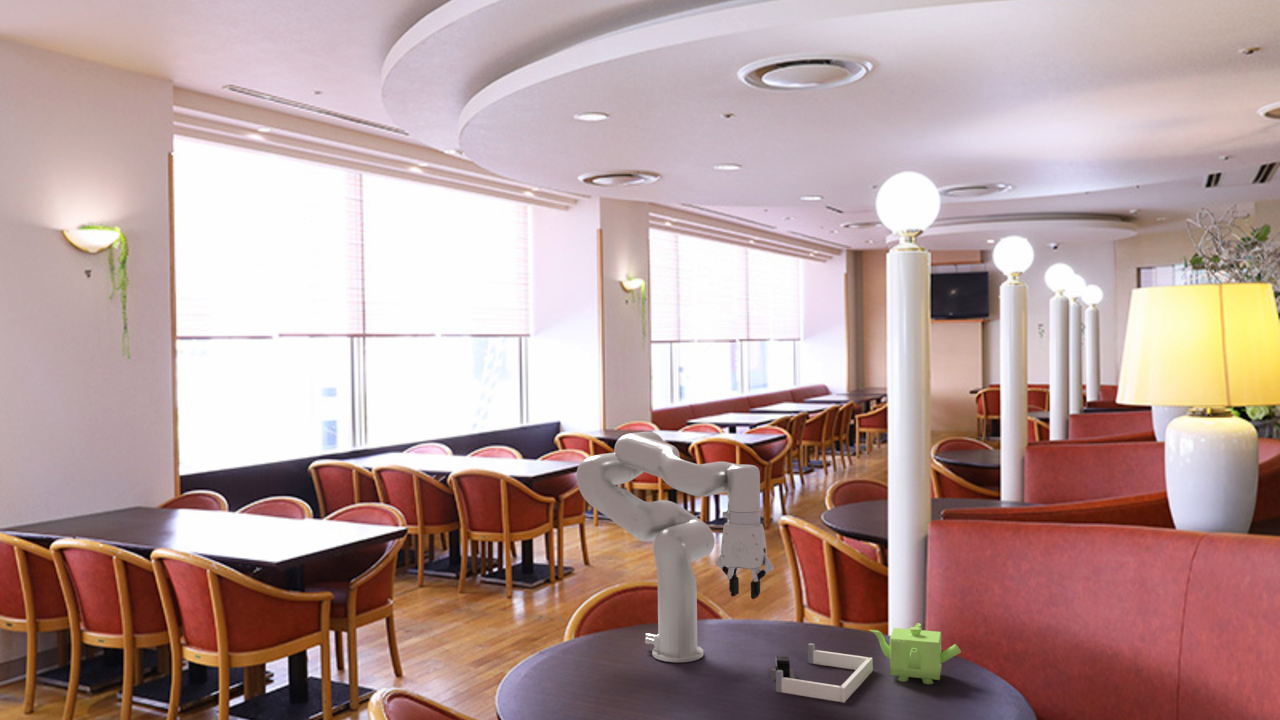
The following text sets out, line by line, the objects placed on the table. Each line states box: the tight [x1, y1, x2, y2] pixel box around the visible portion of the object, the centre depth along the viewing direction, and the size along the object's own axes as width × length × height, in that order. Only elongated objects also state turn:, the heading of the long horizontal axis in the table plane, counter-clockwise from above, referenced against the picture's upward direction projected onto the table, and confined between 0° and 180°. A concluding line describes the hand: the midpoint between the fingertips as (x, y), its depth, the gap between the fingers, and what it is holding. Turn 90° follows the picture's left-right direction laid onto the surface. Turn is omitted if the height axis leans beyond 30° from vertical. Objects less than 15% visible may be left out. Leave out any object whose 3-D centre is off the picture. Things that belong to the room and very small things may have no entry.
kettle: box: [869, 622, 962, 685], centre depth 216 cm, size 15×14×11 cm
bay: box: [775, 643, 874, 703], centre depth 215 cm, size 15×23×4 cm, turn 152°
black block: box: [768, 655, 797, 683], centre depth 219 cm, size 12×7×5 cm, turn 176°
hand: (744, 595), depth 223 cm, fingers open, 4 cm apart
